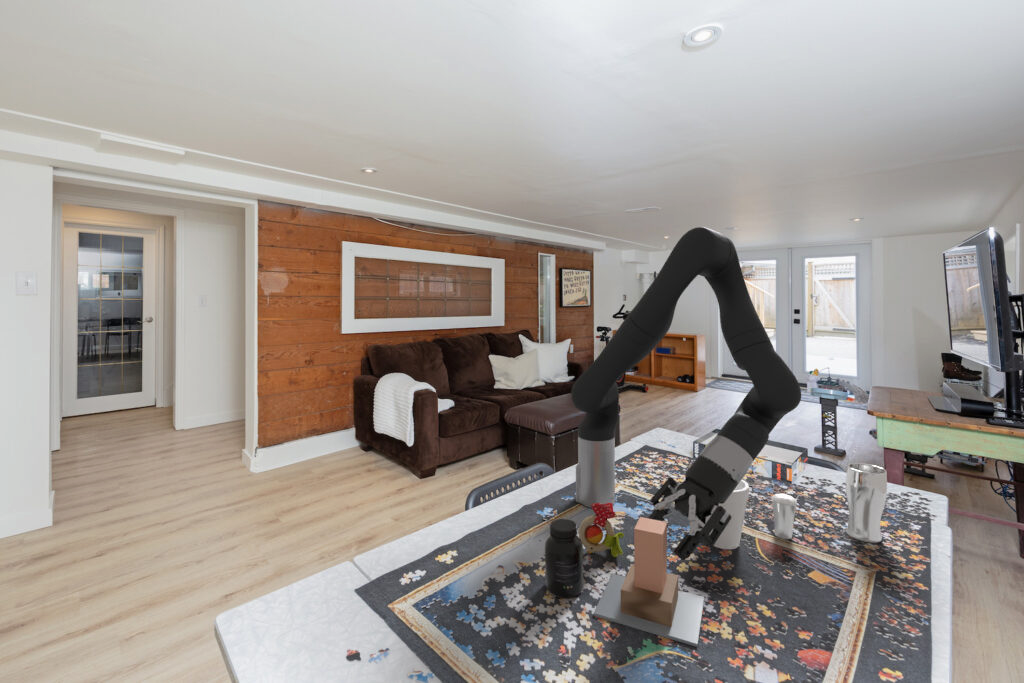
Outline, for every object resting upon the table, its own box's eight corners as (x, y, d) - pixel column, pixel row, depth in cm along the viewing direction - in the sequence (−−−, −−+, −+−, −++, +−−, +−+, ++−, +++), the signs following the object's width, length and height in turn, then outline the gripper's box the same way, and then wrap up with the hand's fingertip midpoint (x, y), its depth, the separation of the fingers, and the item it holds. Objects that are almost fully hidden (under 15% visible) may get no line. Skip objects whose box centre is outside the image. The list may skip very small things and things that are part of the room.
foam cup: (711, 526, 104) (712, 470, 103) (754, 541, 97) (756, 482, 96) (691, 541, 98) (691, 482, 97) (735, 558, 91) (736, 495, 90)
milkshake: (803, 542, 97) (804, 496, 96) (775, 540, 98) (776, 495, 97) (794, 531, 101) (796, 487, 100) (768, 529, 102) (769, 486, 101)
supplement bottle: (542, 577, 86) (541, 516, 85) (578, 574, 87) (577, 514, 86) (548, 601, 80) (547, 535, 79) (587, 598, 80) (586, 532, 79)
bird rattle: (592, 571, 92) (634, 554, 91) (569, 522, 91) (611, 504, 90) (589, 554, 98) (628, 538, 97) (567, 508, 97) (606, 491, 96)
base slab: (620, 612, 76) (620, 589, 75) (631, 585, 83) (631, 564, 82) (671, 627, 72) (671, 603, 72) (678, 597, 79) (678, 575, 79)
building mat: (593, 615, 76) (593, 612, 76) (612, 576, 86) (612, 573, 86) (697, 647, 68) (697, 643, 68) (704, 599, 79) (704, 596, 79)
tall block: (634, 586, 76) (634, 528, 75) (639, 571, 80) (640, 516, 79) (662, 593, 74) (662, 534, 73) (666, 578, 78) (667, 522, 77)
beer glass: (878, 531, 100) (882, 464, 99) (889, 546, 94) (892, 476, 93) (840, 525, 103) (843, 460, 102) (847, 540, 97) (851, 471, 96)
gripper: (679, 443, 85) (625, 512, 83) (738, 469, 72) (675, 553, 69) (702, 467, 87) (650, 535, 85) (764, 497, 74) (704, 579, 71)
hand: (662, 543), depth 77 cm, fingers open, 8 cm apart
